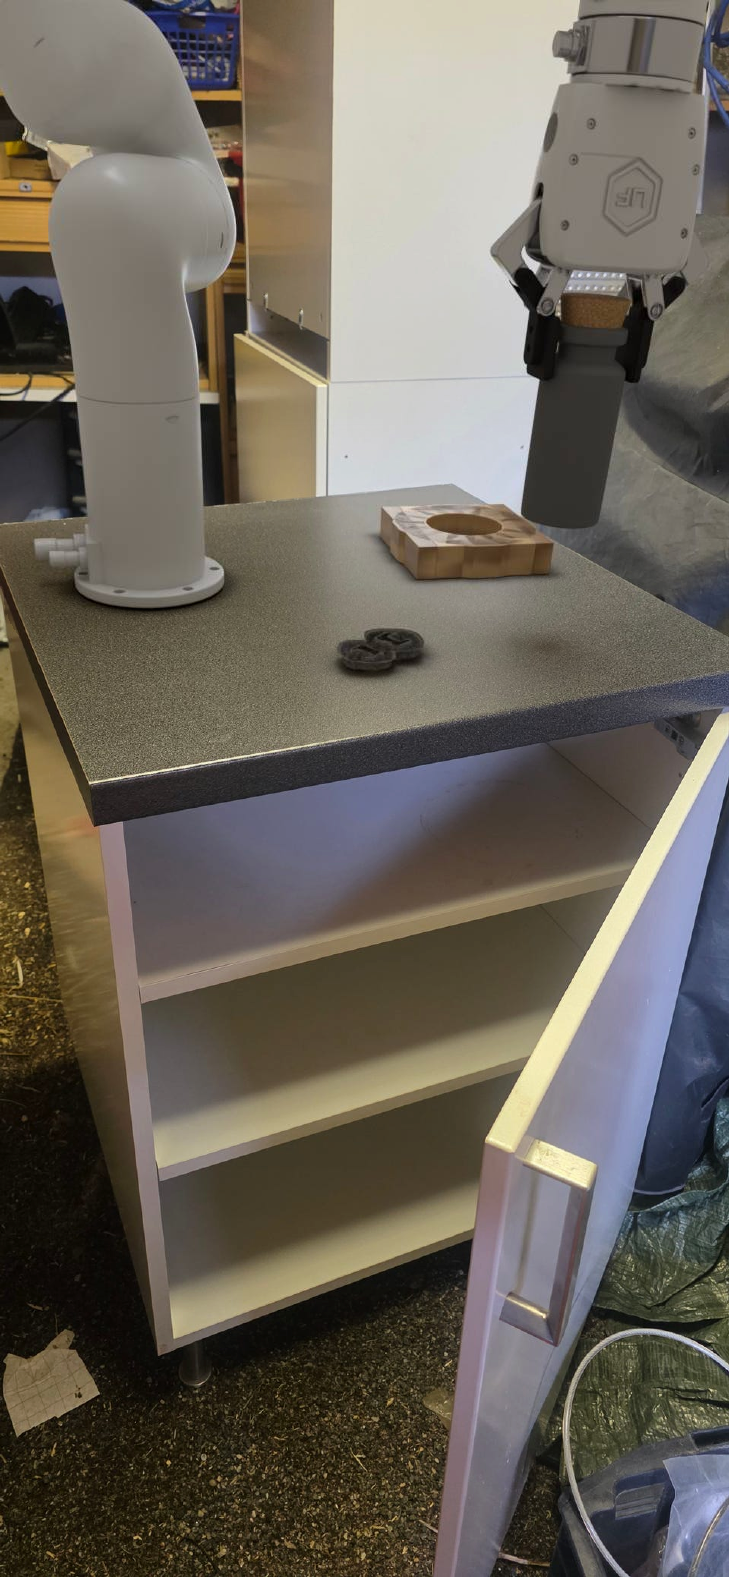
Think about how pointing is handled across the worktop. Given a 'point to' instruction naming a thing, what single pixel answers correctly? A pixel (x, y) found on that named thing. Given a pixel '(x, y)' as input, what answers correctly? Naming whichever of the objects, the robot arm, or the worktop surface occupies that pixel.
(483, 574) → the socket pad
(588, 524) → the bottle
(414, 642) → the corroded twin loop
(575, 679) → the worktop surface
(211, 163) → the robot arm
